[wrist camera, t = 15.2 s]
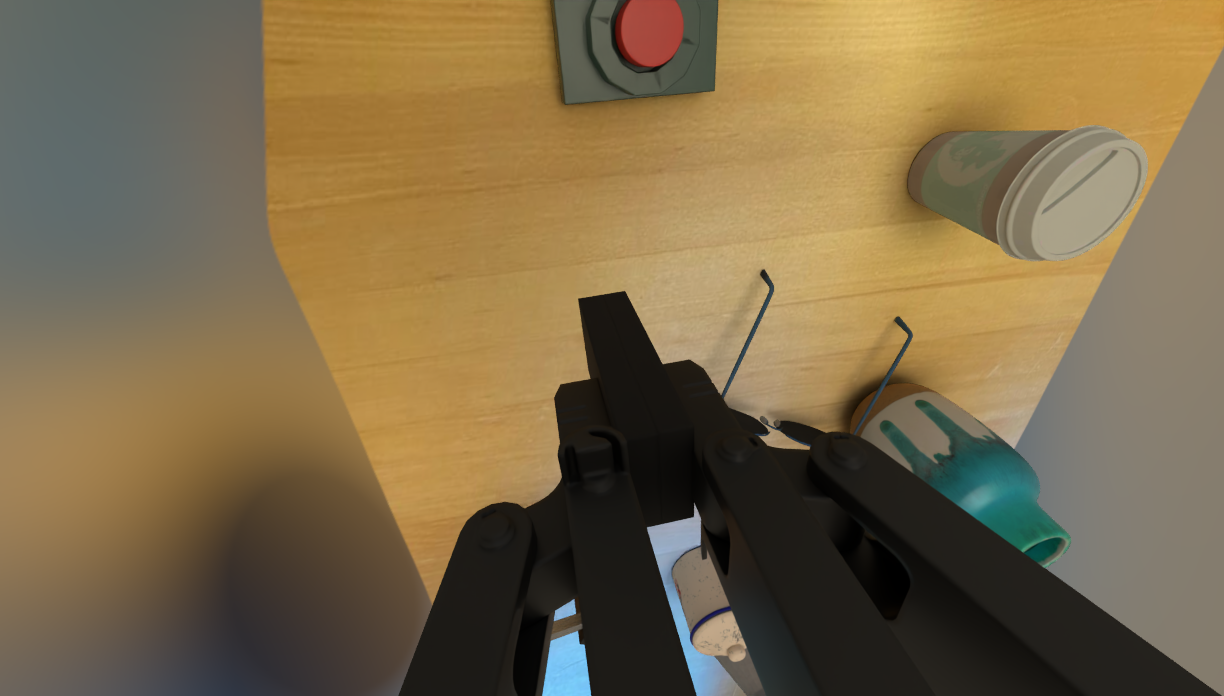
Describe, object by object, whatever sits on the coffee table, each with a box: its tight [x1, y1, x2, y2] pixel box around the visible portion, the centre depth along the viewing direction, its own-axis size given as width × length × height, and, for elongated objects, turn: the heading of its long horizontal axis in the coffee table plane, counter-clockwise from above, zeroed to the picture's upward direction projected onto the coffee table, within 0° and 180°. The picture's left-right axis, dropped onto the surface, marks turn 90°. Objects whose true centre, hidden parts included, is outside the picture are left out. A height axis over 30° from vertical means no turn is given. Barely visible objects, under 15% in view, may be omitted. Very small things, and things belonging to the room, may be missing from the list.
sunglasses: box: [721, 270, 913, 447], centre depth 45 cm, size 17×15×5 cm
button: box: [615, 0, 684, 67], centre depth 26 cm, size 4×4×2 cm
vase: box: [850, 383, 1071, 568], centre depth 44 cm, size 11×11×19 cm
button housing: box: [551, 0, 718, 105], centre depth 28 cm, size 10×7×4 cm
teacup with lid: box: [672, 547, 747, 662], centre depth 58 cm, size 12×9×12 cm
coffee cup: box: [908, 125, 1148, 261], centre depth 34 cm, size 8×9×12 cm
